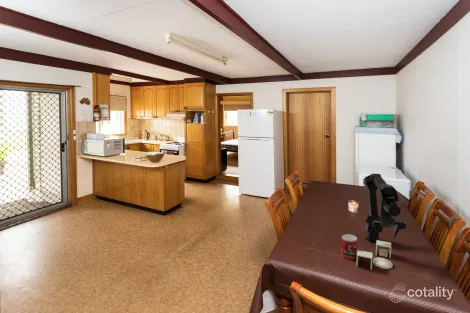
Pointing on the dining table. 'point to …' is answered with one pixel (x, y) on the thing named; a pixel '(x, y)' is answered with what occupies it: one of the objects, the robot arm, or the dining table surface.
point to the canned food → (349, 246)
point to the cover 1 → (364, 254)
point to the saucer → (382, 263)
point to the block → (383, 251)
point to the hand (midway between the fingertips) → (384, 236)
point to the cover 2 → (384, 244)
